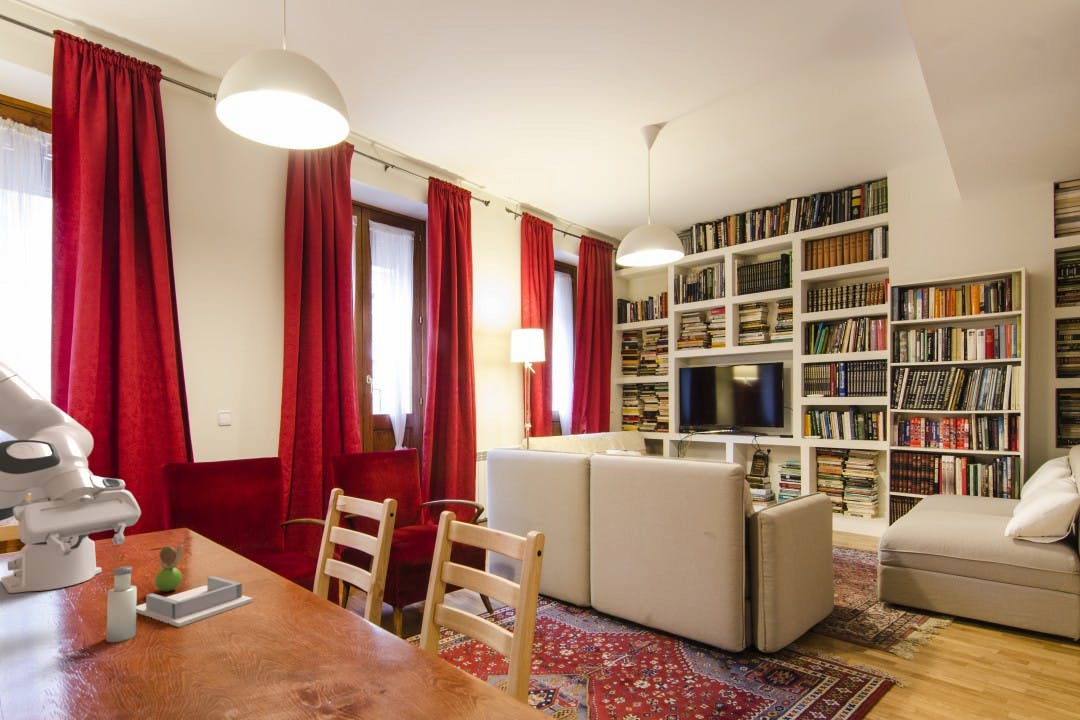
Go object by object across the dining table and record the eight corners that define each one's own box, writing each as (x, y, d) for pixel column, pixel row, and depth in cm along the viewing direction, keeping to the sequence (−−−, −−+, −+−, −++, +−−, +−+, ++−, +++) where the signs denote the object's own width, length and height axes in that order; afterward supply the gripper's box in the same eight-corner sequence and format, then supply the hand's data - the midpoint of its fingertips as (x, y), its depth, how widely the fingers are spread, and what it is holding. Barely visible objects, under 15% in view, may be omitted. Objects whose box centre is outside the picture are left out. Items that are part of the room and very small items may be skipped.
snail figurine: (172, 595, 136) (173, 543, 136) (149, 594, 137) (150, 542, 138) (190, 587, 141) (191, 537, 142) (168, 586, 142) (169, 536, 143)
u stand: (132, 610, 127) (132, 593, 127) (205, 588, 141) (206, 572, 141) (178, 627, 118) (179, 607, 118) (252, 601, 132) (252, 584, 132)
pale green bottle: (101, 639, 112) (103, 570, 113) (128, 630, 116) (129, 563, 117) (113, 644, 110) (115, 573, 111) (140, 635, 114) (142, 567, 115)
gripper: (15, 493, 114) (34, 550, 109) (131, 478, 132) (153, 527, 126) (5, 514, 116) (23, 571, 111) (121, 497, 134) (142, 546, 128)
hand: (93, 548), depth 119 cm, fingers open, 8 cm apart
